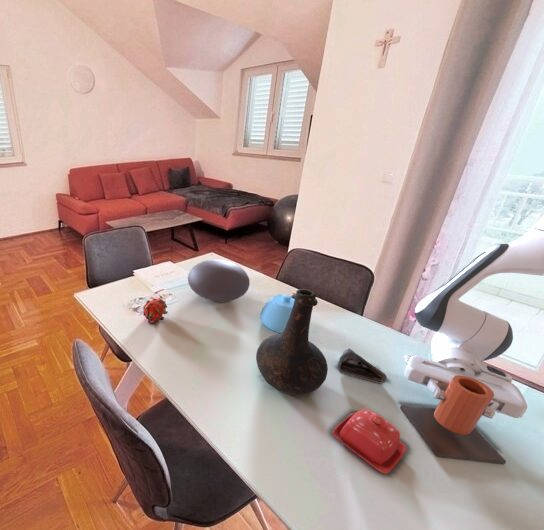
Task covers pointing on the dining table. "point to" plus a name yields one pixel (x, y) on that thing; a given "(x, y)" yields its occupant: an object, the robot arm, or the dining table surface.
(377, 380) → the chocolate cake
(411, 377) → the robot arm
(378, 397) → the dining table surface
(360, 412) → the butter dish
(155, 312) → the dragon fruit
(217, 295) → the smooth stone
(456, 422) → the pot
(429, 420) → the plate
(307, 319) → the glass bottle
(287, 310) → the sugar bowl
